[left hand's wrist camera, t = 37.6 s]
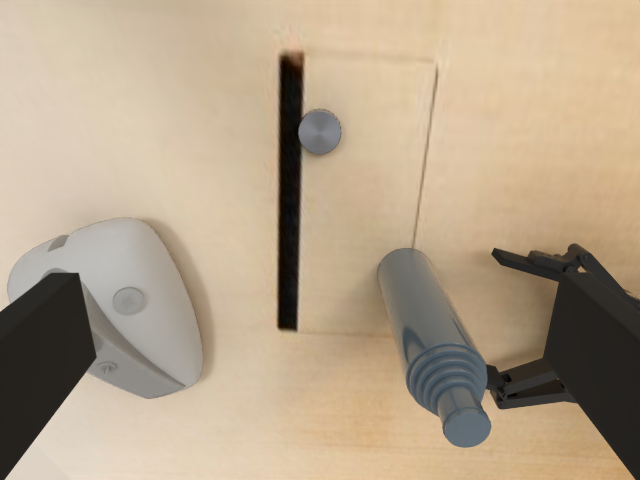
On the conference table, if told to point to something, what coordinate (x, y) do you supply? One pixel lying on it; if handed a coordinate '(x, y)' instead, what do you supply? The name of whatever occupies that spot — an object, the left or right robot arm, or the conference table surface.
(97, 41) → the conference table surface
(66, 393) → the left robot arm
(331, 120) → the cap
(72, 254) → the projector
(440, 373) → the bottle
